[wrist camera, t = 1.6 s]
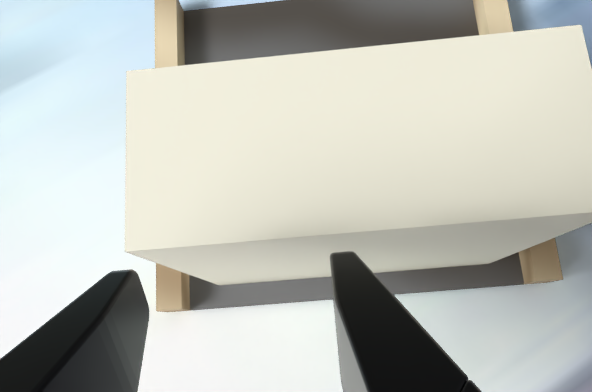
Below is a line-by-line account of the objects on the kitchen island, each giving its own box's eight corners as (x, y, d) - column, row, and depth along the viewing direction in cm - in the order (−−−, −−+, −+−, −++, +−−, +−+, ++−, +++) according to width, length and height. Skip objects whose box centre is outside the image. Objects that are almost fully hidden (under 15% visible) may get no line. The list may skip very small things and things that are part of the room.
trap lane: (547, 282, 21) (562, 279, 19) (167, 312, 21) (156, 311, 20) (489, -19, 24) (499, -40, 23) (164, 15, 25) (154, -2, 23)
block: (488, 263, 21) (625, 209, 11) (219, 285, 21) (124, 251, 12) (471, 158, 22) (580, 25, 12) (215, 181, 22) (126, 71, 13)
